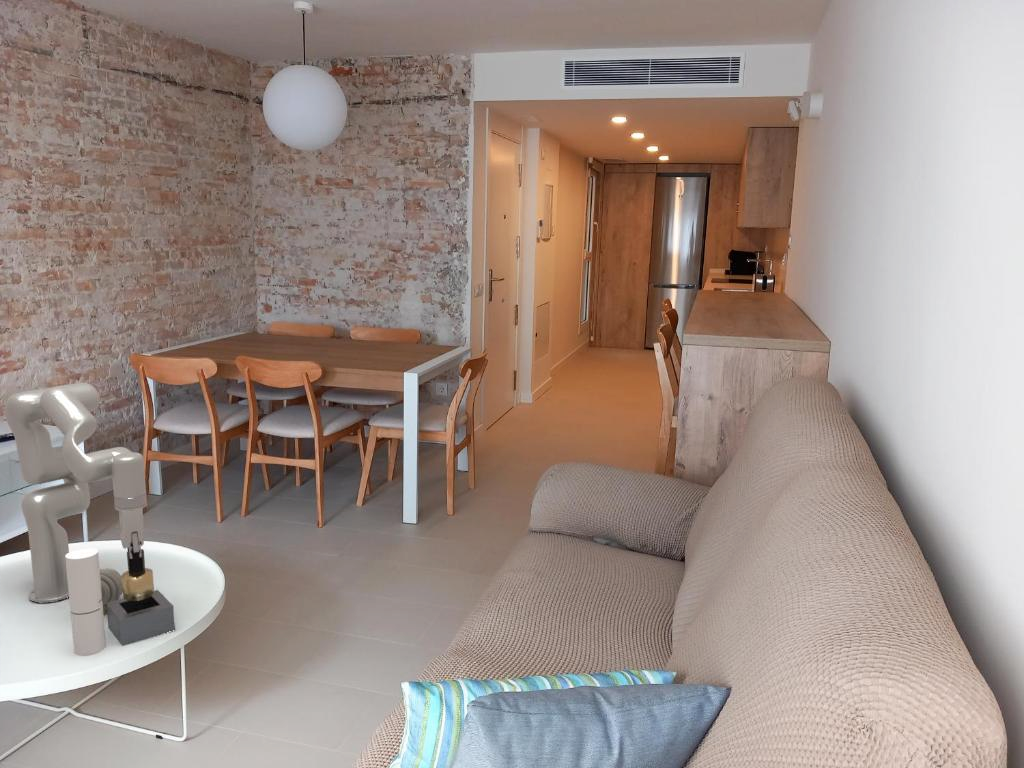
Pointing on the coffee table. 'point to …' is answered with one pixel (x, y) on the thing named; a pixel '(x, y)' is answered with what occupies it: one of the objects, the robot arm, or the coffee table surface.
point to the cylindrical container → (85, 601)
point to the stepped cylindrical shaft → (137, 583)
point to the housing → (140, 618)
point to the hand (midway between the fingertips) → (135, 568)
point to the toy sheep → (110, 586)
